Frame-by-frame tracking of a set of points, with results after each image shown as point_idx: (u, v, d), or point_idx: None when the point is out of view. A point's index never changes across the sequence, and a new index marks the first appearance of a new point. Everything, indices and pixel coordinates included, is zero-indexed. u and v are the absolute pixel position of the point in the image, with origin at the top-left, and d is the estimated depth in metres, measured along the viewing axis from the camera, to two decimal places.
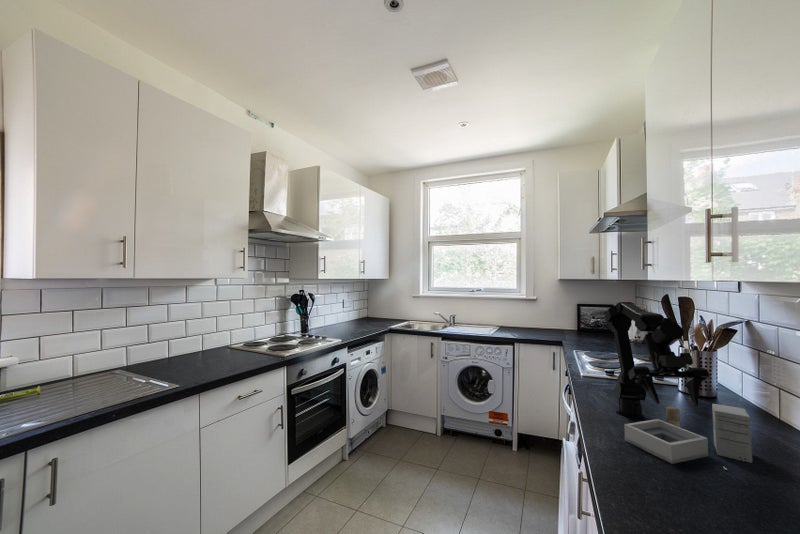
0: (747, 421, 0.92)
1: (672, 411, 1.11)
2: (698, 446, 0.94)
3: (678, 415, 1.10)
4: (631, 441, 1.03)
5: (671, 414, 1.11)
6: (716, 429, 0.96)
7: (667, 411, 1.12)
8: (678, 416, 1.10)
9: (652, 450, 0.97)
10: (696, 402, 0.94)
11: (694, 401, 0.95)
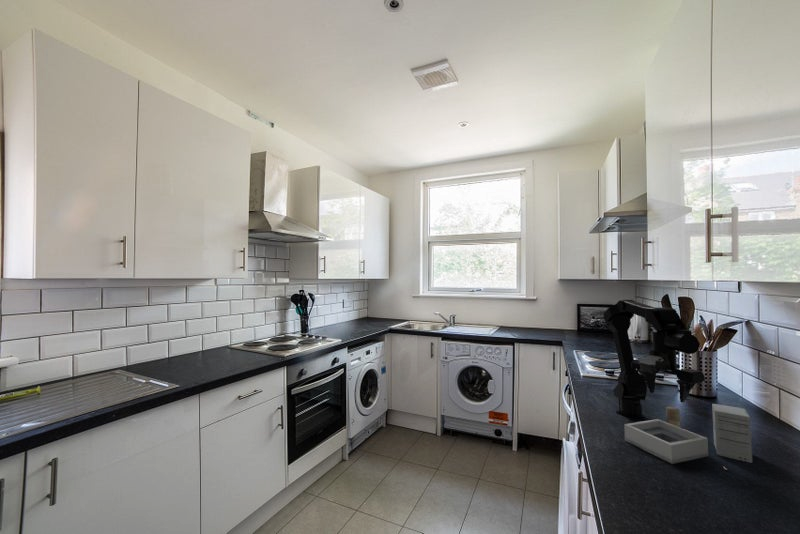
0: (747, 421, 0.92)
1: (672, 411, 1.11)
2: (698, 446, 0.94)
3: (678, 415, 1.10)
4: (631, 441, 1.03)
5: (671, 413, 1.11)
6: (716, 429, 0.96)
7: (667, 411, 1.12)
8: (678, 415, 1.10)
9: (652, 450, 0.97)
10: (680, 399, 1.02)
11: None
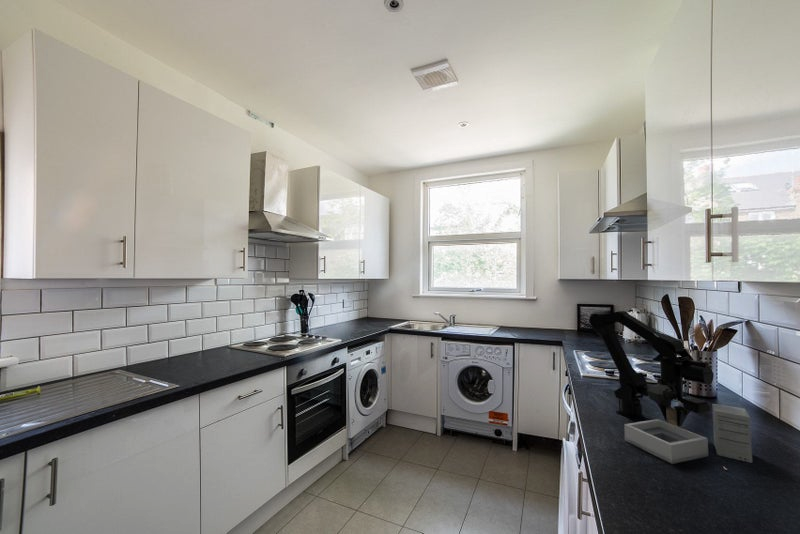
0: (747, 421, 0.92)
1: (672, 411, 1.11)
2: (698, 446, 0.94)
3: None
4: (631, 441, 1.03)
5: (671, 413, 1.11)
6: (716, 429, 0.96)
7: (667, 411, 1.12)
8: None
9: (652, 450, 0.97)
10: (678, 424, 1.10)
11: None
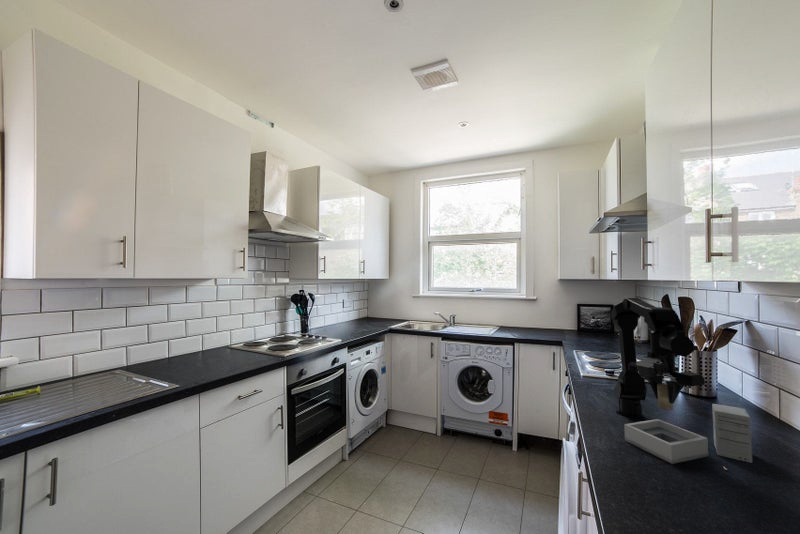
0: (748, 421, 0.92)
1: (664, 387, 1.01)
2: (698, 446, 0.94)
3: None
4: (631, 441, 1.03)
5: (662, 390, 1.01)
6: (716, 429, 0.96)
7: (658, 387, 1.02)
8: None
9: (652, 450, 0.97)
10: (670, 401, 1.00)
11: None
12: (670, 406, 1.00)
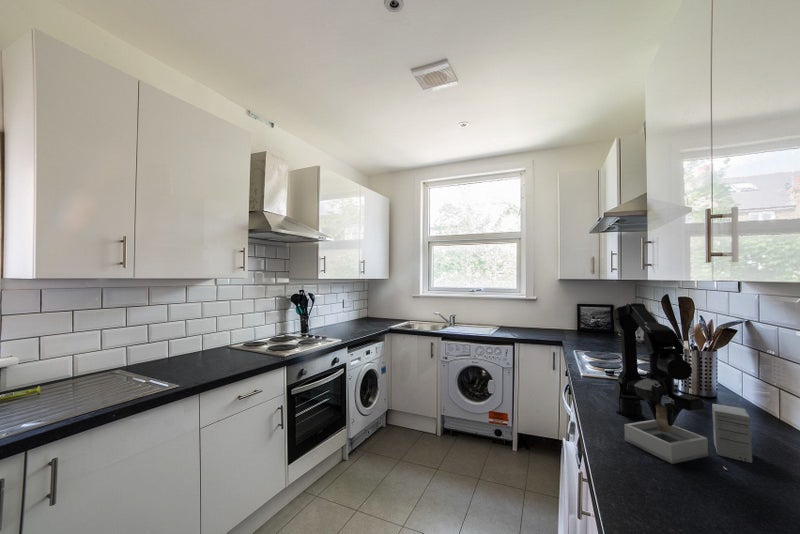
0: (747, 421, 0.92)
1: (662, 409, 0.99)
2: (698, 446, 0.94)
3: None
4: (631, 441, 1.03)
5: (661, 411, 1.00)
6: (716, 429, 0.96)
7: (657, 409, 1.01)
8: None
9: (652, 450, 0.97)
10: (668, 423, 0.98)
11: None
12: (668, 428, 0.99)
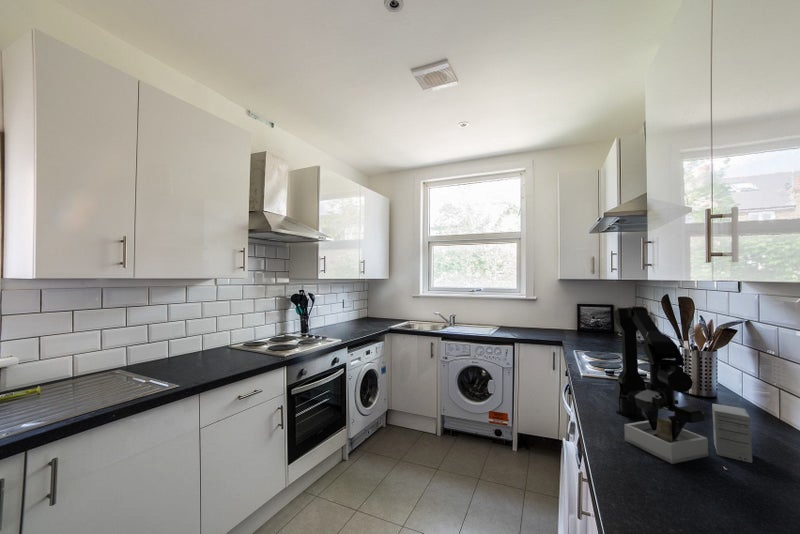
0: (747, 421, 0.92)
1: (664, 424, 0.99)
2: (698, 446, 0.94)
3: (670, 428, 0.99)
4: (631, 441, 1.03)
5: (662, 426, 0.99)
6: (716, 429, 0.96)
7: (658, 423, 1.00)
8: (670, 429, 0.99)
9: (652, 450, 0.97)
10: (672, 436, 0.97)
11: None
12: None
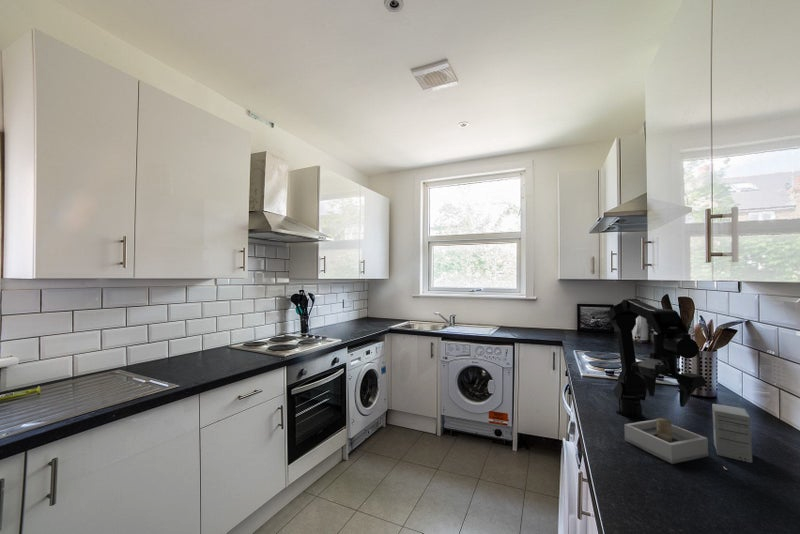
0: (748, 421, 0.92)
1: (663, 423, 0.99)
2: (698, 446, 0.94)
3: (670, 428, 0.99)
4: (631, 441, 1.03)
5: (662, 426, 0.99)
6: (716, 429, 0.96)
7: (658, 423, 1.01)
8: (670, 428, 0.99)
9: (652, 450, 0.97)
10: (680, 404, 0.99)
11: None
12: None
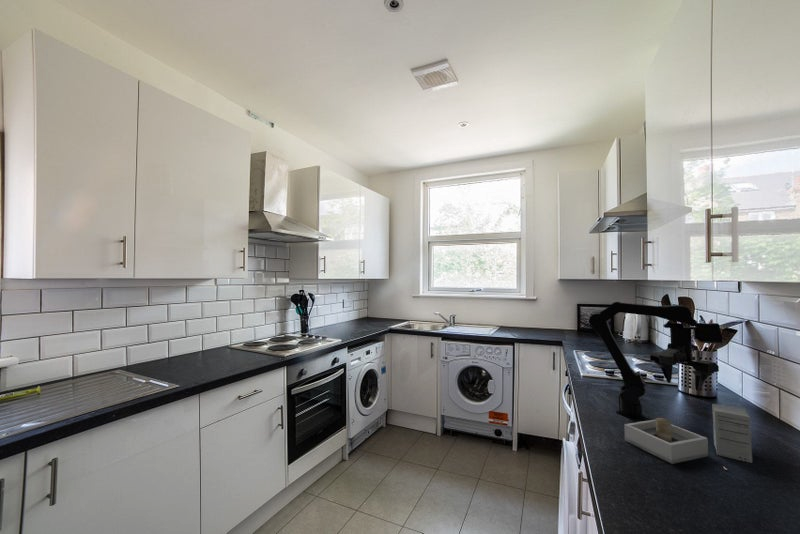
0: (748, 421, 0.92)
1: (662, 423, 0.99)
2: (698, 446, 0.94)
3: (669, 427, 0.99)
4: (631, 441, 1.03)
5: (661, 426, 1.00)
6: (716, 429, 0.96)
7: (657, 423, 1.01)
8: (669, 428, 0.99)
9: (652, 450, 0.97)
10: (696, 388, 1.12)
11: None
12: None
